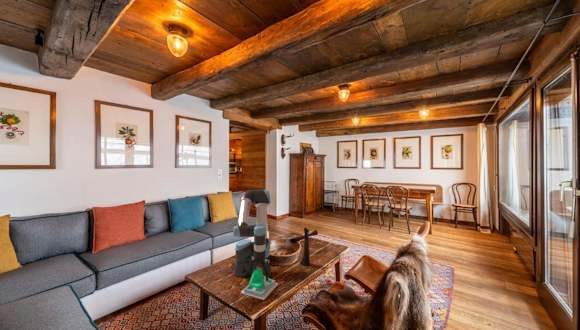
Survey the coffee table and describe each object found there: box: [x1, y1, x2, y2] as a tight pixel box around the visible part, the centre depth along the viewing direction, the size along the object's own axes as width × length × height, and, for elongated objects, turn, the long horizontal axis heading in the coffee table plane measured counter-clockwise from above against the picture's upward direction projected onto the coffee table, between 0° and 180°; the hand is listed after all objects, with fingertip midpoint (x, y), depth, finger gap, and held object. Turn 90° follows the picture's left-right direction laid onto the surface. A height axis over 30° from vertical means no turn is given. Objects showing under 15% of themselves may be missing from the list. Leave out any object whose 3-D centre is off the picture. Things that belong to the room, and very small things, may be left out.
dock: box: [240, 278, 279, 301], centre depth 149 cm, size 17×18×3 cm
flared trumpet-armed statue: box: [289, 227, 319, 267], centre depth 185 cm, size 31×10×30 cm, turn 135°
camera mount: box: [248, 267, 271, 289], centre depth 149 cm, size 12×8×10 cm, turn 143°
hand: (259, 283), depth 149 cm, fingers closed on camera mount, 8 cm apart
